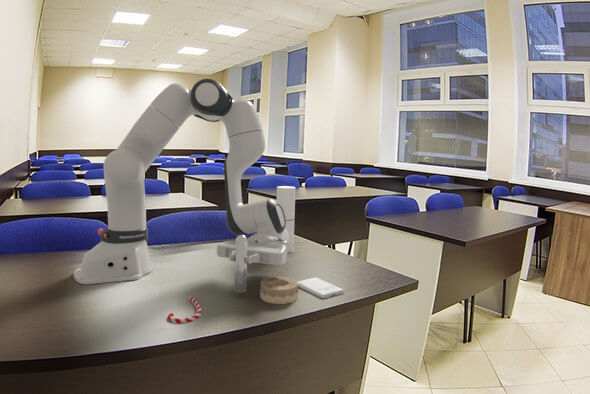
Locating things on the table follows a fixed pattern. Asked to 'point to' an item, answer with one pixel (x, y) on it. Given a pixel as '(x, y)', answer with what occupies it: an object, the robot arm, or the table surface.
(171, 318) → the candy cane
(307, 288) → the external hard drive
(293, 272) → the table surface
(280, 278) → the tan ring
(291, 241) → the cylindrical container
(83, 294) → the table surface
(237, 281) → the white peg
